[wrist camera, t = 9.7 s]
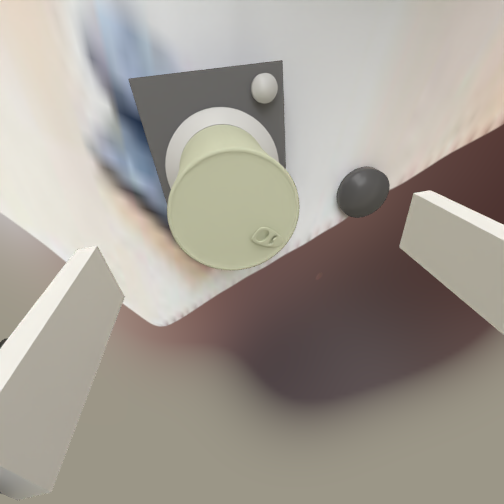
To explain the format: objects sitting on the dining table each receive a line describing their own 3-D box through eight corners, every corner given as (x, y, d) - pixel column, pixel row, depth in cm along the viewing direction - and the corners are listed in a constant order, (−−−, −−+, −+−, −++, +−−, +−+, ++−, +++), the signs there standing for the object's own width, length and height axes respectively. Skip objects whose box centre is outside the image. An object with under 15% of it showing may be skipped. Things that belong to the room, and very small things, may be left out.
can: (237, 225, 31) (253, 291, 21) (164, 186, 27) (141, 243, 17) (283, 159, 27) (329, 198, 17) (207, 102, 23) (211, 112, 13)
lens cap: (327, 189, 36) (331, 193, 35) (372, 155, 34) (378, 158, 33) (348, 221, 39) (353, 226, 38) (390, 192, 38) (396, 196, 36)
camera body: (137, 80, 26) (125, 78, 22) (272, 63, 27) (285, 59, 23) (183, 234, 36) (180, 253, 31) (279, 217, 37) (289, 234, 33)
